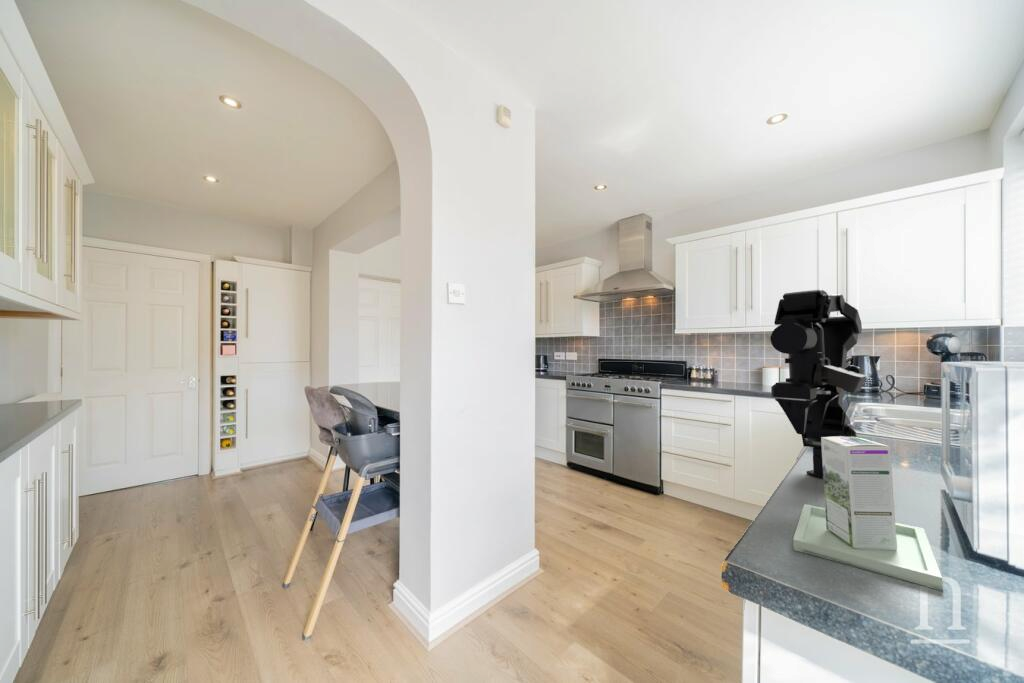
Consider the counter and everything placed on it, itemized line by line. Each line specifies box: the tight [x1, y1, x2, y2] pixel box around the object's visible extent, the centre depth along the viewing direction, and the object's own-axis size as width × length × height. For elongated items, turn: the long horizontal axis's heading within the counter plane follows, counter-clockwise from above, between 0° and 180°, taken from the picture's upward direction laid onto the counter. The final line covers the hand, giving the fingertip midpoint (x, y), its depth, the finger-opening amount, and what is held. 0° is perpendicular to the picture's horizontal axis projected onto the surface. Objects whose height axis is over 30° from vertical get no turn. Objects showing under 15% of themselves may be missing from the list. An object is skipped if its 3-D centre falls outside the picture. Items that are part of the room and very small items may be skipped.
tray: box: [792, 503, 944, 591], centre depth 54 cm, size 16×14×2 cm
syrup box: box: [821, 436, 897, 551], centre depth 54 cm, size 6×6×14 cm
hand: (809, 431), depth 74 cm, fingers open, 9 cm apart
